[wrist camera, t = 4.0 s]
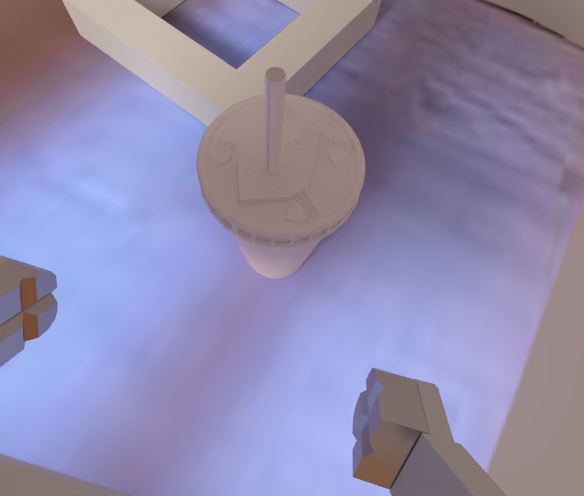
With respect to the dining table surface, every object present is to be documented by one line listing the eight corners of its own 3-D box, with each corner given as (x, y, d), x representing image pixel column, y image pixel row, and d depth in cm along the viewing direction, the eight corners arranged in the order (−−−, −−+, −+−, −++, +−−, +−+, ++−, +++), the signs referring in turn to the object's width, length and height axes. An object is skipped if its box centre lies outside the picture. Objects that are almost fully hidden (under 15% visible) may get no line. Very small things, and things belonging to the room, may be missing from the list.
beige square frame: (80, 35, 28) (59, -5, 25) (224, -63, 33) (220, -106, 30) (244, 153, 25) (241, 123, 22) (373, 26, 30) (384, -11, 27)
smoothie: (200, 255, 22) (109, 67, 9) (269, 184, 24) (274, -51, 11) (283, 323, 21) (310, 219, 8) (348, 244, 23) (454, 58, 10)
